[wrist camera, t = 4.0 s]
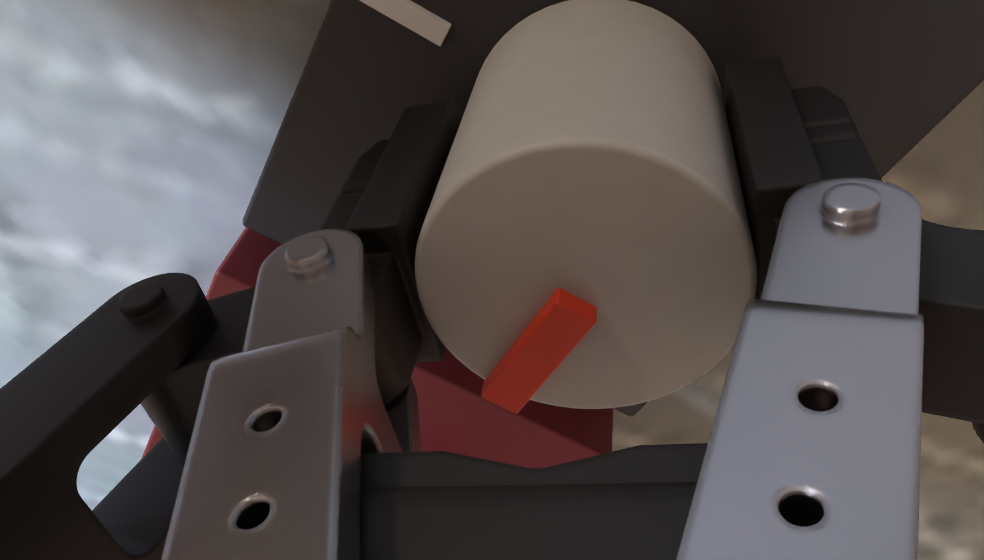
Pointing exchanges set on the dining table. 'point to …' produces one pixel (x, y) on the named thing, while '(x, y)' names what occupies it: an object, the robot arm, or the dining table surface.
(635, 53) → the timer knob
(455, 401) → the red button box
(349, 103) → the panel
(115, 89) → the dining table surface
